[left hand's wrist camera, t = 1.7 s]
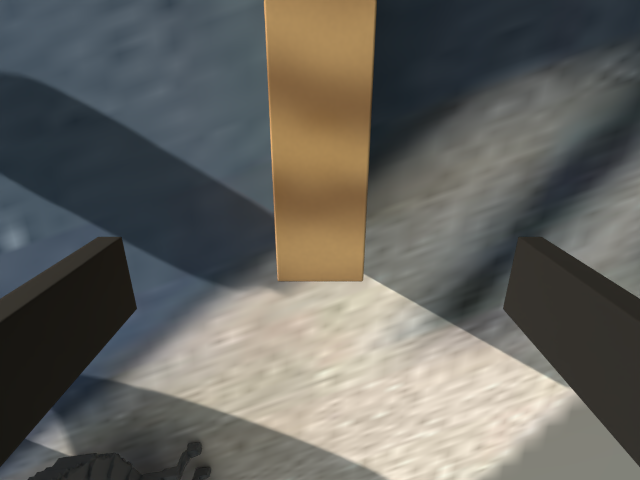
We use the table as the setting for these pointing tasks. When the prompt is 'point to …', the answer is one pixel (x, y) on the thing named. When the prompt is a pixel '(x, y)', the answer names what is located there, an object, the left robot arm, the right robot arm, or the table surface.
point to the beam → (320, 134)
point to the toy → (116, 468)
